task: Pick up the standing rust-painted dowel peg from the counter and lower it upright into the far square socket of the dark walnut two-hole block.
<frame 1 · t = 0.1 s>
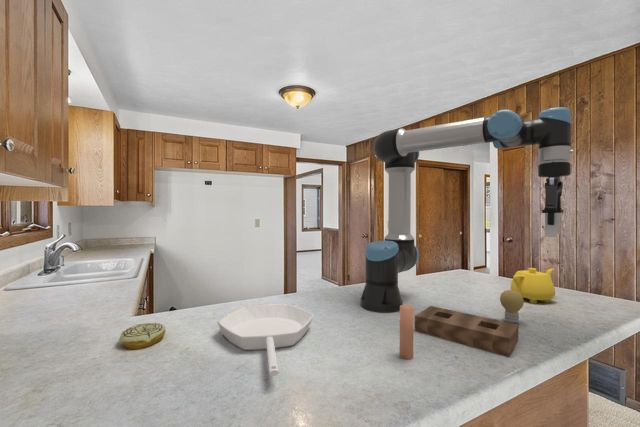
hand: (553, 235, 90), 28 cm above the countertop, fingers open, 13 cm apart
light bulb: (511, 322, 97), on the countertop
teapot: (533, 300, 121), on the countertop
hole block: (464, 335, 86), on the countertop
pan: (268, 346, 81), on the countertop
peg: (406, 356, 75), on the countertop
decorated donut: (143, 342, 83), on the countertop
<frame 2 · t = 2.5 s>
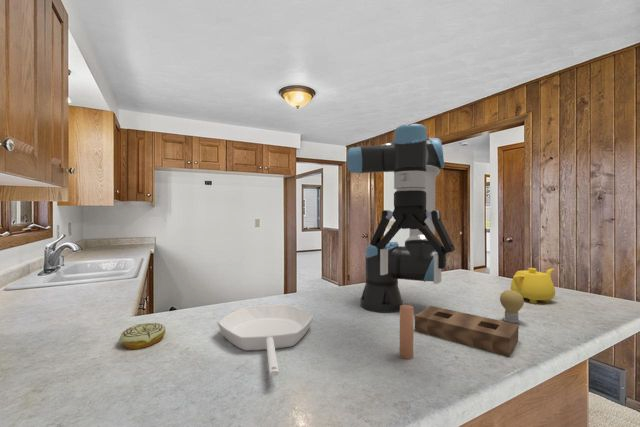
hand: (409, 278, 74), 19 cm above the countertop, fingers open, 13 cm apart
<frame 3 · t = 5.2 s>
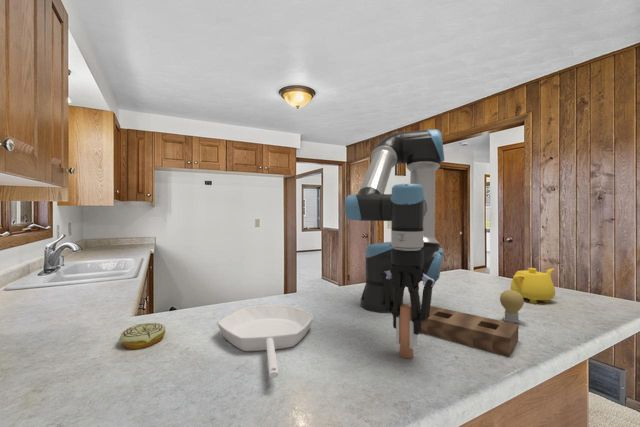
hand: (406, 344, 75), 3 cm above the countertop, fingers closed on peg, 3 cm apart
peg: (406, 355, 75), on the countertop, touching gripper
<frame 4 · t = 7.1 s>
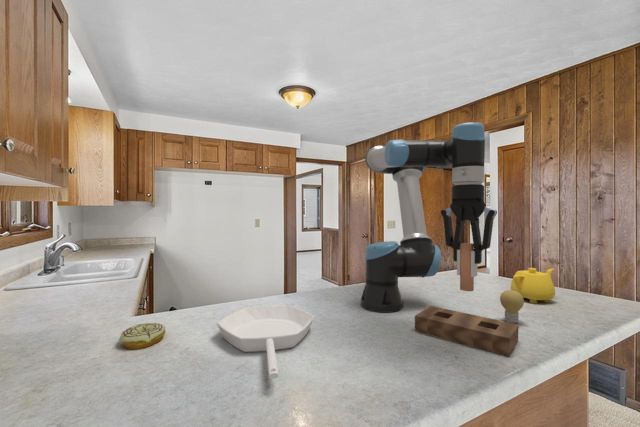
hand: (467, 274, 80), 19 cm above the countertop, fingers closed on peg, 3 cm apart
peg: (466, 289, 80), point 15 cm above the countertop, touching gripper
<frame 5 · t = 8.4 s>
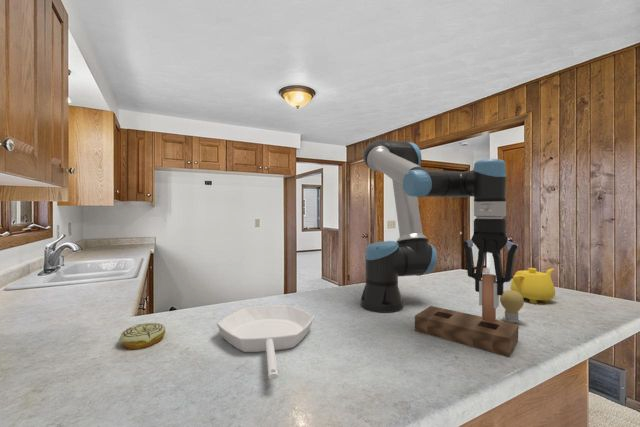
hand: (488, 305, 82), 10 cm above the countertop, fingers closed on peg, 3 cm apart
peg: (488, 319, 82), point 6 cm above the countertop, touching gripper
when the fingers open (6 cm above the countertop, at t = 9.5 s): peg drops 2 cm, resting in hole block.
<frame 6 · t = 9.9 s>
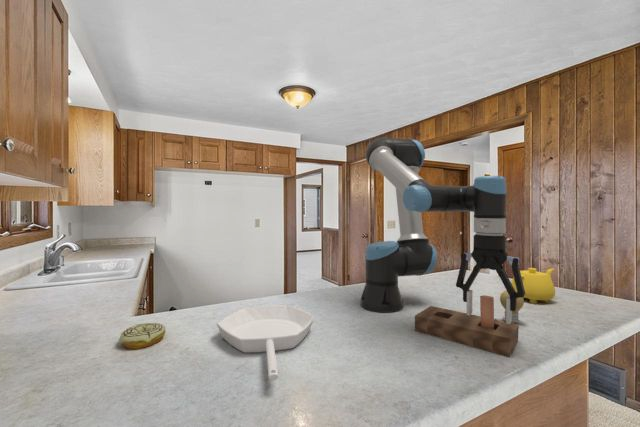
hand: (488, 318, 82), 6 cm above the countertop, fingers open, 9 cm apart
peg: (487, 341, 83), resting in hole block
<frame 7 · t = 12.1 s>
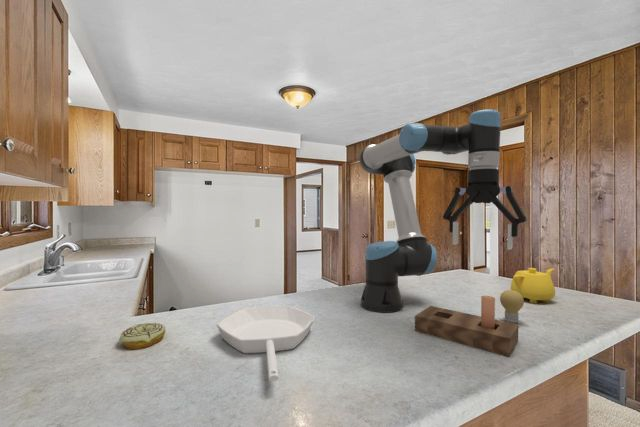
hand: (481, 246, 84), 25 cm above the countertop, fingers open, 13 cm apart
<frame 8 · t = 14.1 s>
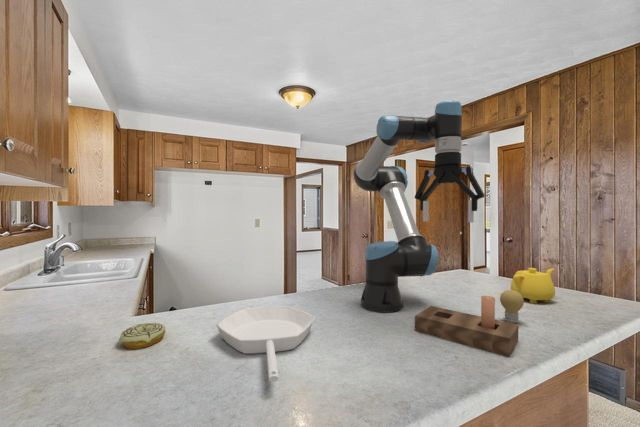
hand: (447, 221, 95), 32 cm above the countertop, fingers open, 13 cm apart
at the end: peg 0.1 cm from the target spot on the hole block, point 0.0 cm above the hole block's base; peg tilted 0°; the gripper is holding nothing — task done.
